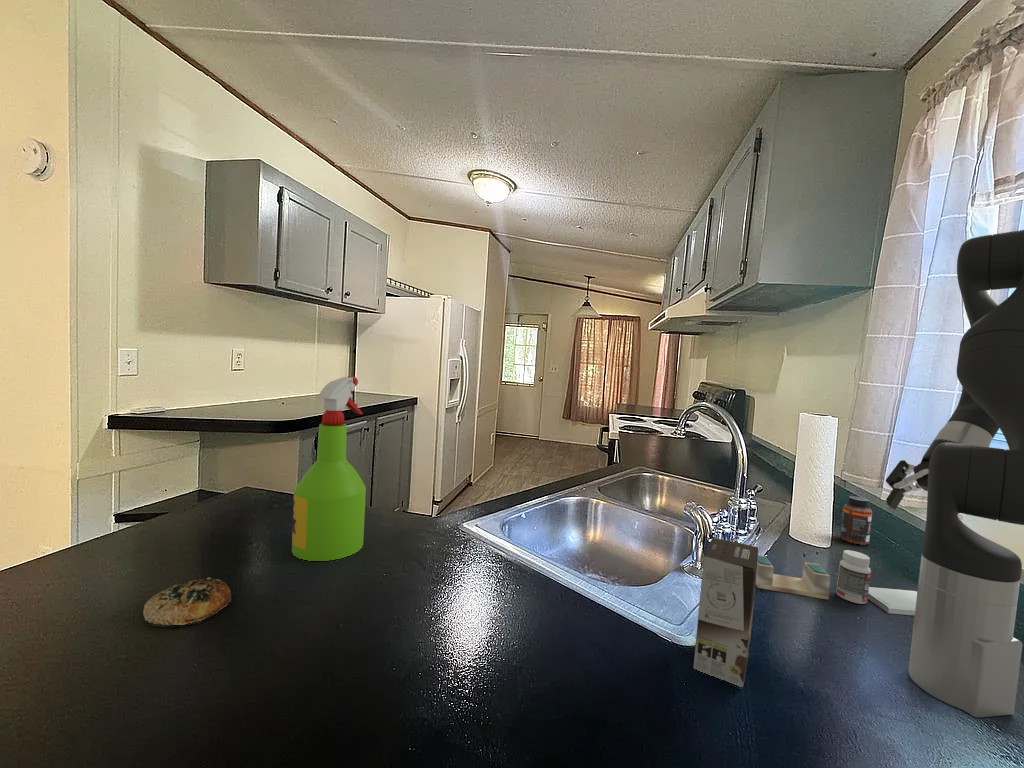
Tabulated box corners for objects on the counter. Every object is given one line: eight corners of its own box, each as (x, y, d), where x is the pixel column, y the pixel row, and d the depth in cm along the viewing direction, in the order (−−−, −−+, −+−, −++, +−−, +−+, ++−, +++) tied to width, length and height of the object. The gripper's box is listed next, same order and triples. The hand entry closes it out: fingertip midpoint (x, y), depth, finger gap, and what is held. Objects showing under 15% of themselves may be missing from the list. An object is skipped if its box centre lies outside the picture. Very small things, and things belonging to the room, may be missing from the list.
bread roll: (236, 585, 76) (235, 558, 75) (226, 631, 66) (225, 600, 65) (153, 598, 71) (151, 570, 70) (130, 650, 61) (127, 618, 60)
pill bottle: (869, 607, 82) (876, 562, 81) (838, 598, 84) (844, 554, 83) (863, 596, 86) (869, 553, 86) (833, 588, 88) (839, 547, 88)
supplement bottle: (875, 547, 112) (880, 502, 112) (851, 545, 112) (856, 501, 112) (857, 537, 118) (861, 495, 118) (834, 536, 118) (838, 494, 118)
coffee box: (744, 691, 58) (756, 569, 57) (691, 670, 61) (701, 554, 61) (750, 654, 66) (760, 546, 65) (703, 637, 69) (712, 534, 68)
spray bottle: (383, 531, 102) (390, 377, 101) (342, 566, 85) (351, 380, 83) (327, 524, 104) (333, 373, 103) (276, 557, 86) (283, 375, 85)
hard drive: (888, 607, 80) (961, 613, 80) (855, 584, 88) (921, 589, 88) (887, 616, 80) (960, 622, 80) (855, 593, 88) (920, 598, 88)
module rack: (815, 584, 89) (817, 562, 89) (828, 599, 84) (831, 576, 83) (749, 573, 92) (751, 552, 92) (757, 587, 87) (759, 564, 86)
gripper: (908, 430, 96) (867, 492, 94) (996, 448, 82) (950, 521, 81) (924, 450, 98) (884, 510, 97) (1012, 470, 84) (967, 541, 83)
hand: (914, 515), depth 89 cm, fingers open, 8 cm apart
